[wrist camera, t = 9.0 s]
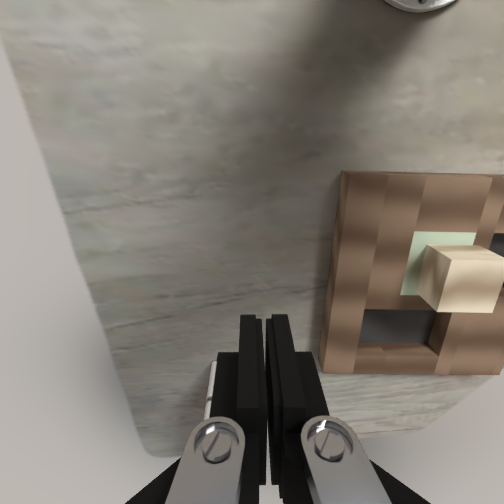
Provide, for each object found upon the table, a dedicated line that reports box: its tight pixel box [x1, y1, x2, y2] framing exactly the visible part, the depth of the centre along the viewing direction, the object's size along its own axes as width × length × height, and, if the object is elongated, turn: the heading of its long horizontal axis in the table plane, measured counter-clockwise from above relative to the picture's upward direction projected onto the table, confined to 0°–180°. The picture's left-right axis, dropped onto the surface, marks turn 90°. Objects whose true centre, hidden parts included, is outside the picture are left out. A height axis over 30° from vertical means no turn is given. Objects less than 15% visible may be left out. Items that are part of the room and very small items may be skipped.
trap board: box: [318, 171, 504, 375], centre depth 38 cm, size 26×24×3 cm
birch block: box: [415, 244, 504, 313], centre depth 34 cm, size 6×6×4 cm
